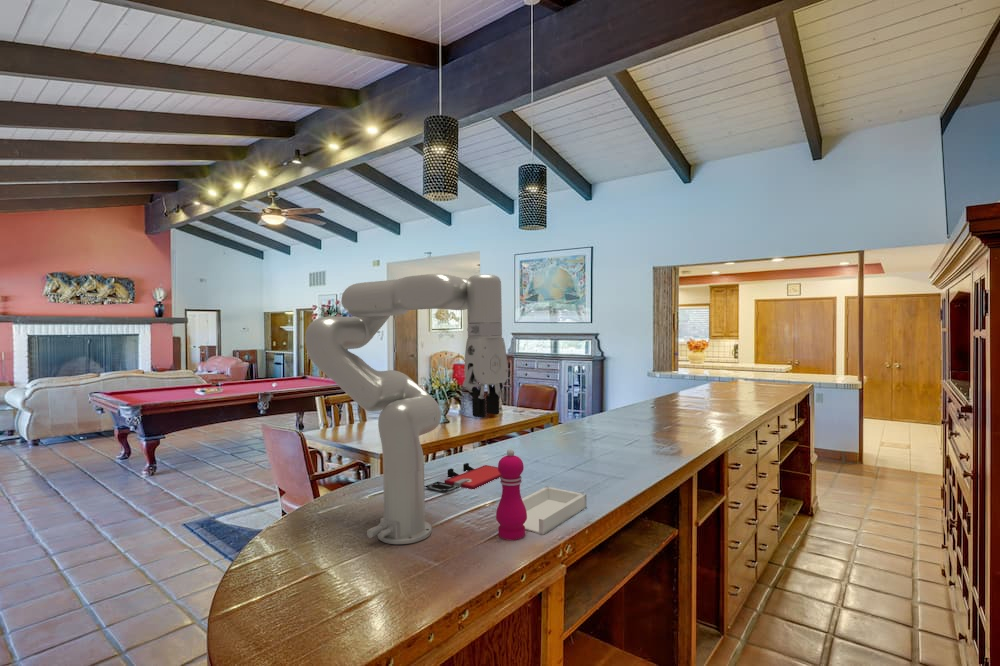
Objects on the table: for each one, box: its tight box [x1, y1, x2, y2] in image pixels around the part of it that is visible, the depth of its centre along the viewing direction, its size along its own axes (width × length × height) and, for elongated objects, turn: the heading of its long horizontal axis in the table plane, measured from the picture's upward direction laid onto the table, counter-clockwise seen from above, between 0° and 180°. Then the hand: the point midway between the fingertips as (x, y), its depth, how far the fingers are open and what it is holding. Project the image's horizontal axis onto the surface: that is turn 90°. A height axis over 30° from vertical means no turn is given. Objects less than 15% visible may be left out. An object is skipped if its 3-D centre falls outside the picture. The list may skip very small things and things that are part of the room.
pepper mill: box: [495, 448, 527, 541], centre depth 116 cm, size 7×7×20 cm
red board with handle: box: [424, 462, 502, 493], centre depth 160 cm, size 30×3×15 cm
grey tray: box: [521, 486, 588, 536], centre depth 128 cm, size 22×12×4 cm, turn 143°
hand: (486, 414), depth 109 cm, fingers open, 4 cm apart
